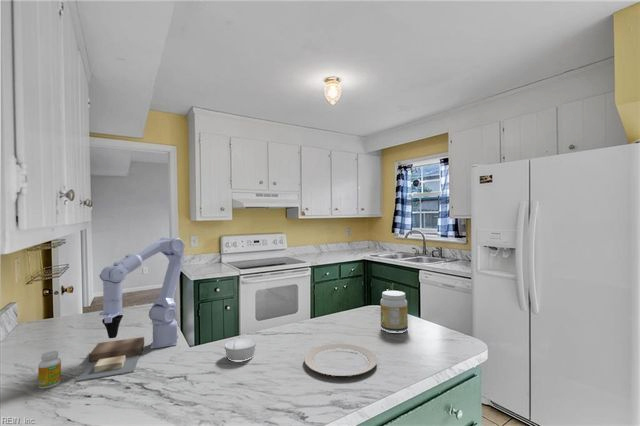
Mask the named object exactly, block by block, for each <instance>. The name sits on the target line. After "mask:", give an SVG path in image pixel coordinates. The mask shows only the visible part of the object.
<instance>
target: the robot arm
mask: <svg viewBox="0 0 640 426" xmlns="http://www.w3.org/2000/svg"><path fill="white" fill-rule="evenodd" d="M185 248H186V244H185V242H184V240H183V239H182V238H180V237H160V238H159V239H157V240H155V241H154V242H153V243H151V244H150V245H149V246H147V247H145V248H144V249H143V250H141V251H139V252H138V253H137V254H136V253H131V254H130V253H128V254H126V255H125V257H124V258H122V259H121V260H119V261H115V262H113V264H112V265H107V266H104V268H103V269H102V270H101V271H100V273H99V275H98V276H99V279H100V280H101V282H102V286H103V287H102V288H103V289H102V290H103V291H102V294H103V296H102V299H103V302H102V305H103V307H102V308H103V309H102V311H100V312H99V313H98V315H99V316H102V317H103V319H102V324H103V325H104V326H105V329H106V333H107V336H108V339H115V338H117V336H118V333H119V332H118V331H119V327H120V324H121V321H122V319H123V317H124V315H123V312H124V310H123V281H124V280H125V279H126V276H127V275H129V274H131V273H132V272H133V271H135V270H136V269H138V268H140V267H141V266H142V263H143V262H144V261H145V260H147V259H150V258H151V257H153V256H156V254H158V253H161V254H163V255H164V256H166V258H167V259H168V261H169V262H168V265H167V268H166V272H165V276H164V279H163V283H162V286H161V290H160V294H159V296H158V298H156V300H155V301H153V305H152V306H151V307H150V309H149V311H148V318H149V319H150V320H151V323H152V341H151V345H150V349H158V348H159V349H160V348H165V347H172V346H173V347H174V346H176V345H177V344H178V339H179V334H178V321H177V320H175V318H176V316H177V303H176V302H175V300H174V297H175V295H176V294H175V293H176V290H177V286H178V282H179V279H180V275H181V271H182V267H183V264H184V259H185V254H184V253H185V252H184V251H185Z"/></svg>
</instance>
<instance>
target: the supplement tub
mask: <svg viewBox="0 0 640 426" xmlns="http://www.w3.org/2000/svg"><path fill="white" fill-rule="evenodd" d="M381 297H382V298H381V299H380V304H379V305H380V328H381V327H382V328H383V329H385V330H388V331H396V332H399V331H405V330H407V329H409V327H408V326H409V325H408V324H409V322H408V316H409V315H408V300H407V299H406V292H404V291H400V290H385V291H382V293H381ZM407 331H408V330H407Z"/></svg>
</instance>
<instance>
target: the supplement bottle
mask: <svg viewBox="0 0 640 426" xmlns="http://www.w3.org/2000/svg"><path fill="white" fill-rule="evenodd" d="M40 357H41V361H40V362H39V363H38V367H37V368H38V371H37V372H38V373H37V376H38V379H37V381H38V382H37V383H38V384H37V387H38V389H48V388H49V389H51V388H53V387H56V386H57V385H60V383H61V381H62V380H61V379H62V360H61V359H62V358H60V357H59V351H58V350H50V351H47V352H44V353H42V354H41V356H40Z"/></svg>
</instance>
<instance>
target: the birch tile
mask: <svg viewBox="0 0 640 426" xmlns="http://www.w3.org/2000/svg"><path fill="white" fill-rule="evenodd" d="M124 363H125V356H118V357H112V358H105V359H99V360H98V362H97V363H96V365H95V366H94V373H95V372H101V371H107V370H114V369H120V368H122V367H123V365H124Z"/></svg>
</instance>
